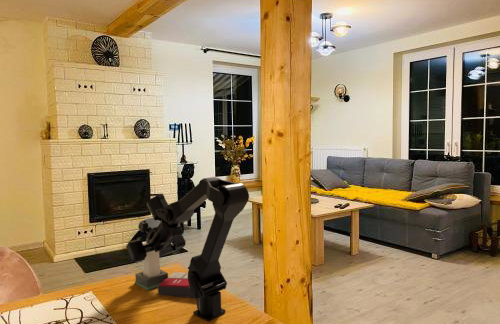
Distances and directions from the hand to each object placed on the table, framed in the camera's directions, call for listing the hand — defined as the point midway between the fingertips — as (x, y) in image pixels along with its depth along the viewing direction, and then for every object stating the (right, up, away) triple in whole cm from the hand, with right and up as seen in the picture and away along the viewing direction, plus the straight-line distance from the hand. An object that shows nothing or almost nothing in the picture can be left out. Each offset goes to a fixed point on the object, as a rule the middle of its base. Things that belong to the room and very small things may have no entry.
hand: (148, 258), depth 123 cm
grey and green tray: (+1, -8, 0) cm, 8 cm away
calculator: (+14, -9, -6) cm, 17 cm away
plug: (+1, -7, 0) cm, 7 cm away
